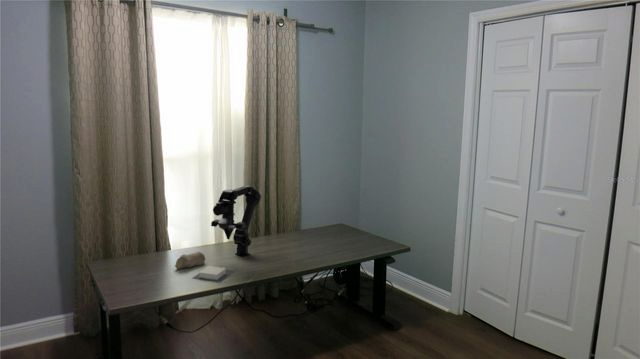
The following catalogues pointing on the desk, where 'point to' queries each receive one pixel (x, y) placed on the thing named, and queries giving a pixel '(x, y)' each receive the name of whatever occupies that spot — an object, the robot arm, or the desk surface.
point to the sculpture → (190, 260)
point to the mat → (228, 273)
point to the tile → (212, 273)
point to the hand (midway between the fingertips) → (228, 239)
